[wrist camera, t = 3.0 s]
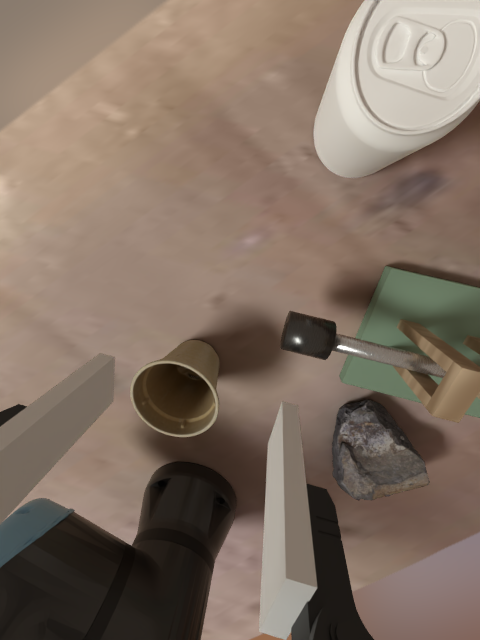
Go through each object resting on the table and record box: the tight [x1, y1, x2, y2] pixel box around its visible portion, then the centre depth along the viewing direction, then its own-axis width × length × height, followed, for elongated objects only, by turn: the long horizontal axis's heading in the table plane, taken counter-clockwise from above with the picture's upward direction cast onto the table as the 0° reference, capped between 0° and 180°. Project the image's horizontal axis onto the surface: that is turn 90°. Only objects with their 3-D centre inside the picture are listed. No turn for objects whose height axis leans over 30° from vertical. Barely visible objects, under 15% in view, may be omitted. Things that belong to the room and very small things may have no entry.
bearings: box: [393, 319, 480, 423], centre depth 24 cm, size 9×4×10 cm, turn 78°
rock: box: [332, 400, 430, 500], centre depth 33 cm, size 14×11×5 cm
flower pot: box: [130, 340, 220, 437], centre depth 31 cm, size 9×9×9 cm
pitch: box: [340, 266, 480, 418], centre depth 29 cm, size 22×14×2 cm, turn 78°
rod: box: [280, 311, 446, 378], centre depth 24 cm, size 25×4×8 cm, turn 78°
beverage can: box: [314, 0, 480, 178], centre depth 18 cm, size 8×8×12 cm
